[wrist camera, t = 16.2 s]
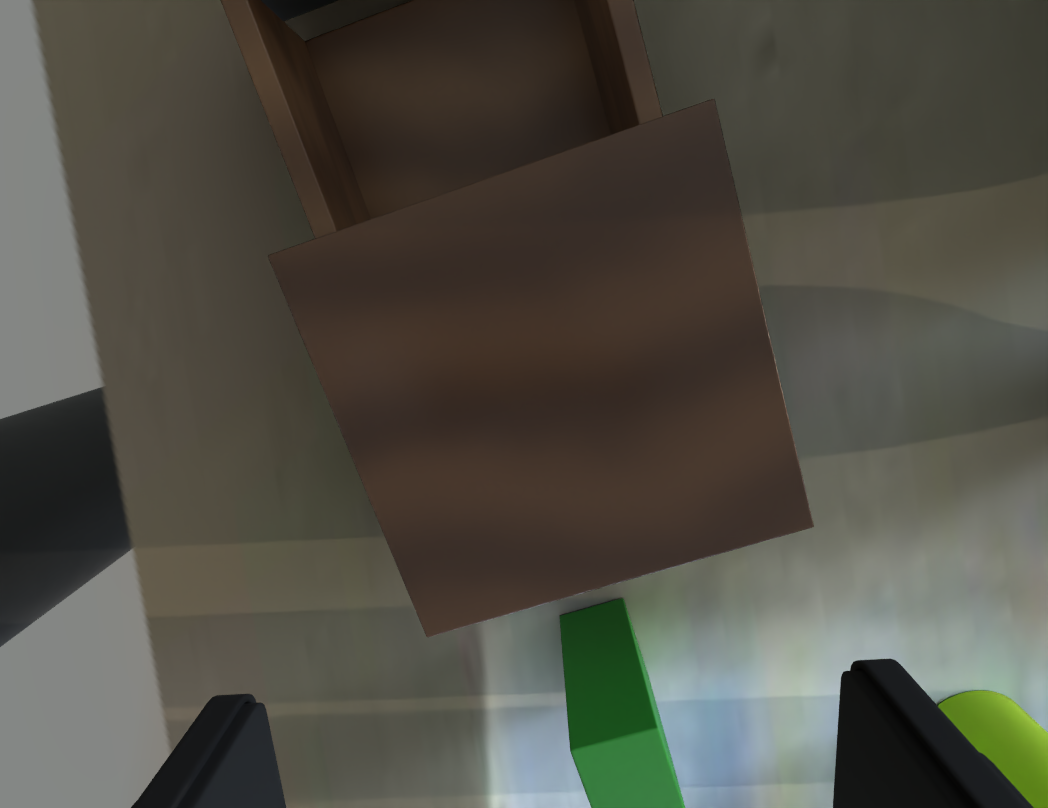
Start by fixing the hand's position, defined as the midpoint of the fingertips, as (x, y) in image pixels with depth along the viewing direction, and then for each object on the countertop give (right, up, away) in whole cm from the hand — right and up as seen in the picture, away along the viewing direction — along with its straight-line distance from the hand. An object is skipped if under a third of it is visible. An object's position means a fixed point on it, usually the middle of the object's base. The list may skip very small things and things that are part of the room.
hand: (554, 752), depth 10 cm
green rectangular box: (+4, -7, +23) cm, 24 cm away
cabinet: (+1, +8, +19) cm, 21 cm away
